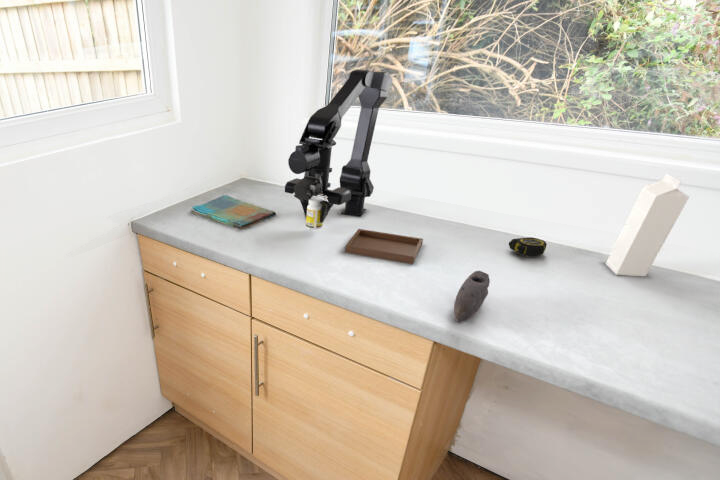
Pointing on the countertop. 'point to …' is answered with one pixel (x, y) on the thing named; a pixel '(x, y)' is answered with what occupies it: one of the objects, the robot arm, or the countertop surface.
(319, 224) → the supplement bottle
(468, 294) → the perforated stone tool
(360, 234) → the tray
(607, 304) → the countertop surface
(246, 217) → the dish towel
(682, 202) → the milk
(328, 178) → the robot arm
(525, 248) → the tape measure
